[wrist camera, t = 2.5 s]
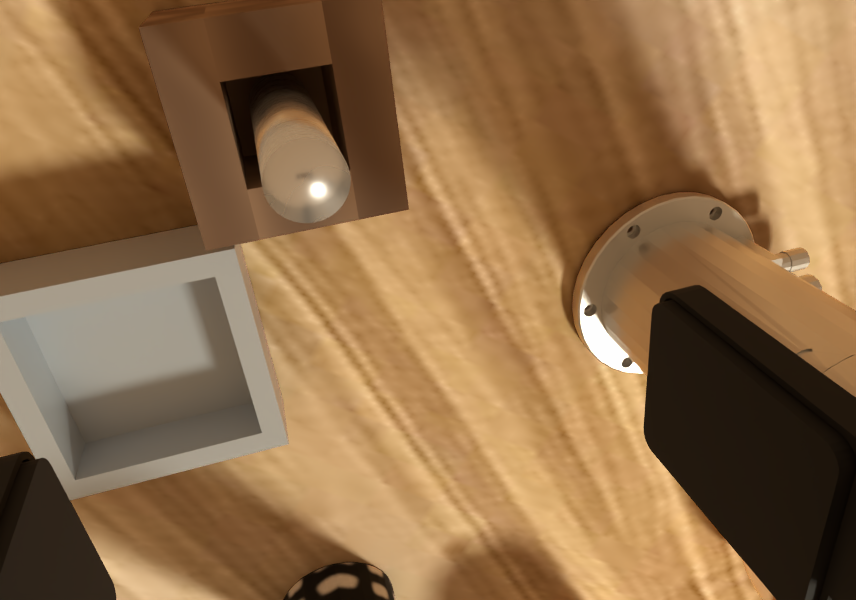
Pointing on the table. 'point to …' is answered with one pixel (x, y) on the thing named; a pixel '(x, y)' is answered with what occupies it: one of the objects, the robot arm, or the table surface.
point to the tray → (137, 360)
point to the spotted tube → (343, 584)
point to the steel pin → (296, 151)
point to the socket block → (230, 113)
